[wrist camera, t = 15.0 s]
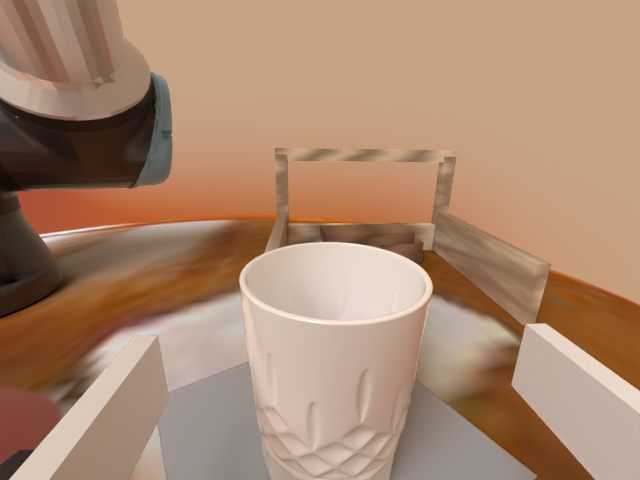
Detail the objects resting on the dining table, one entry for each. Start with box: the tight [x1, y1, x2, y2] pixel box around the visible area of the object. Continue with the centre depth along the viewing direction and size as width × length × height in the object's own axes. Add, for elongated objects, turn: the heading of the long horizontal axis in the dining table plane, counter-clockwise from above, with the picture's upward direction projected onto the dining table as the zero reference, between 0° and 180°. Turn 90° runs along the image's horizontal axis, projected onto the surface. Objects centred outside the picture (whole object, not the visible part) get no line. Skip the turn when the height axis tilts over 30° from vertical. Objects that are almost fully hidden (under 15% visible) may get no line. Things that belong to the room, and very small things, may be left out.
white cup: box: [239, 242, 433, 480], centre depth 14 cm, size 8×8×10 cm
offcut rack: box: [264, 148, 551, 325], centre depth 35 cm, size 25×21×15 cm
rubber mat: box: [158, 362, 537, 480], centre depth 17 cm, size 15×15×1 cm
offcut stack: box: [320, 223, 424, 264], centre depth 42 cm, size 14×6×5 cm, turn 103°
